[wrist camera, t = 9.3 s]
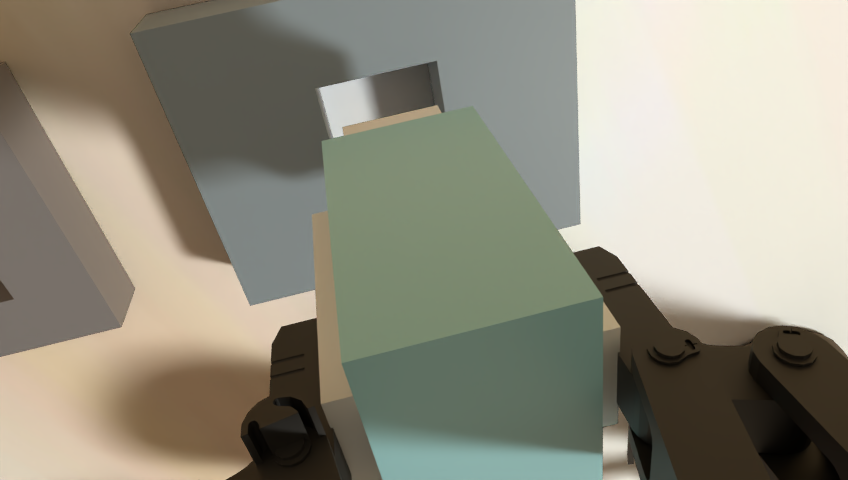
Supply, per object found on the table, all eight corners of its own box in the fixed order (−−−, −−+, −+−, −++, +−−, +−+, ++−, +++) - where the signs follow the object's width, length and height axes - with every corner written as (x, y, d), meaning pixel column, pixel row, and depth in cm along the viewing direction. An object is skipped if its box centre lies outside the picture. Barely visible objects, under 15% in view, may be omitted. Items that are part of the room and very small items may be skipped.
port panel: (253, 269, 26) (250, 305, 24) (146, 14, 20) (129, 33, 18) (558, 195, 27) (580, 223, 25) (546, -73, 21) (573, -64, 19)
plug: (363, 259, 21) (413, 567, 12) (317, 99, 18) (341, 363, 9) (472, 232, 21) (602, 516, 12) (447, 70, 18) (602, 296, 9)
